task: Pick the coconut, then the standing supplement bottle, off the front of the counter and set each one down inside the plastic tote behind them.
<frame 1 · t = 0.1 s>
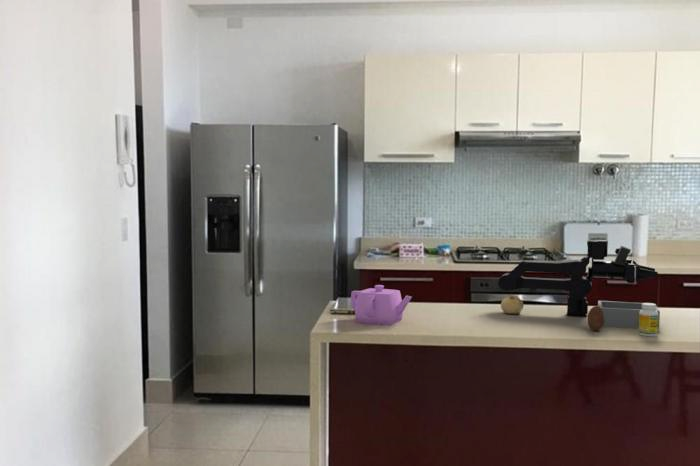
hand: (656, 271, 215), 17 cm above the countertop, tool horizontal, fingers open, 9 cm apart
tote: (627, 323, 210), on the countertop
coconut: (595, 331, 199), on the countertop
teakettle: (381, 321, 216), on the countertop
supplement bottle: (648, 335, 194), on the countertop
onion: (511, 314, 228), on the countertop
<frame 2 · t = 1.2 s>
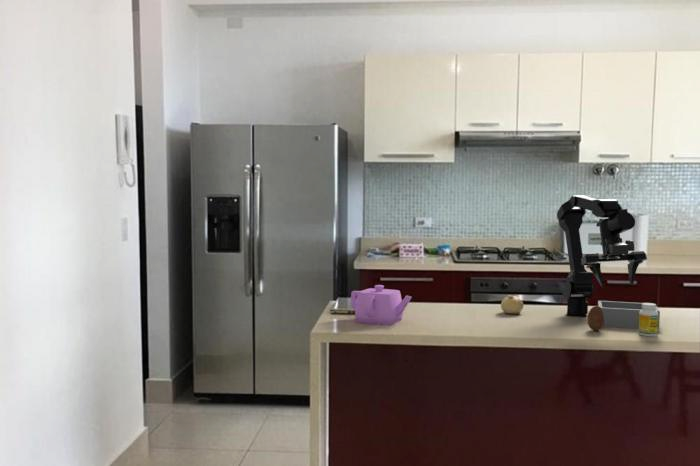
hand: (617, 285, 198), 15 cm above the countertop, tool tilted 15°, fingers open, 9 cm apart
nothing on the countertop moved.
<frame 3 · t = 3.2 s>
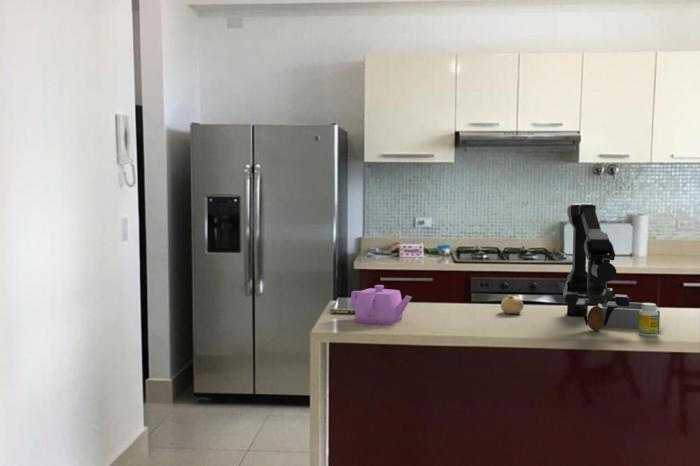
hand: (595, 325, 199), 2 cm above the countertop, tool pointing down, fingers closed on coconut, 5 cm apart
coconut: (595, 331, 199), on the countertop, touching gripper
everything else where it was.
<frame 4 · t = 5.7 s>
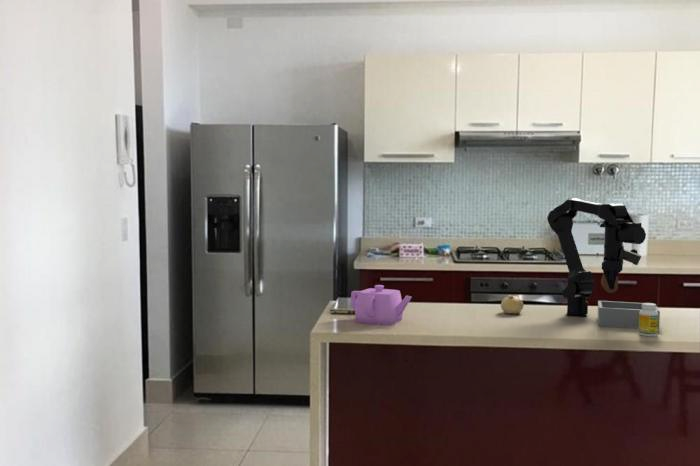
hand: (611, 288, 210), 12 cm above the countertop, tool pointing down, fingers closed on coconut, 5 cm apart
coconut: (609, 293, 210), point 10 cm above the countertop, touching gripper
everything else where it was.
when the fingers open (4 cm above the countertop, at t = 7.7 s): coconut stays where it is, resting on tote.
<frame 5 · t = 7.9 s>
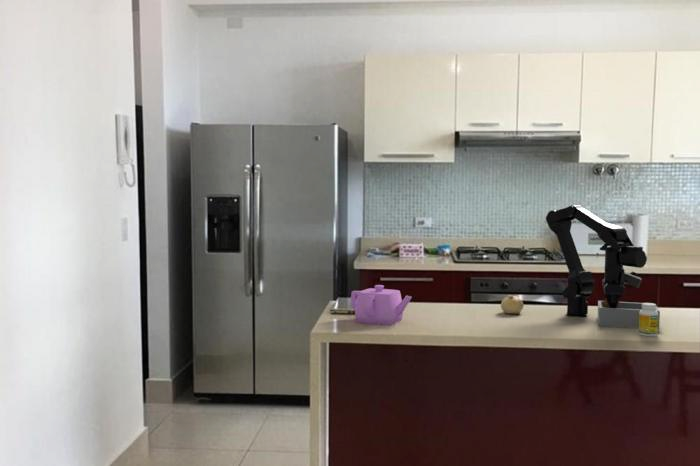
hand: (612, 310, 211), 4 cm above the countertop, tool pointing down, fingers open, 7 cm apart
coconut: (607, 318, 212), point 1 cm above the countertop, touching tote
everything else where it was.
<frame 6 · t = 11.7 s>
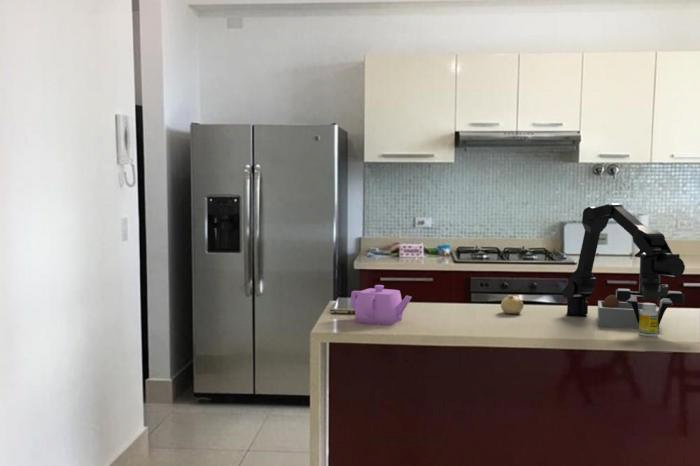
hand: (648, 323, 193), 4 cm above the countertop, tool pointing down, fingers closed on supplement bottle, 5 cm apart
supplement bottle: (648, 335, 194), on the countertop, touching gripper
everything else where it was.
when the fingers open (6 cm above the countertop, at t = 17.0 s): supplement bottle drops 1 cm, resting on tote.
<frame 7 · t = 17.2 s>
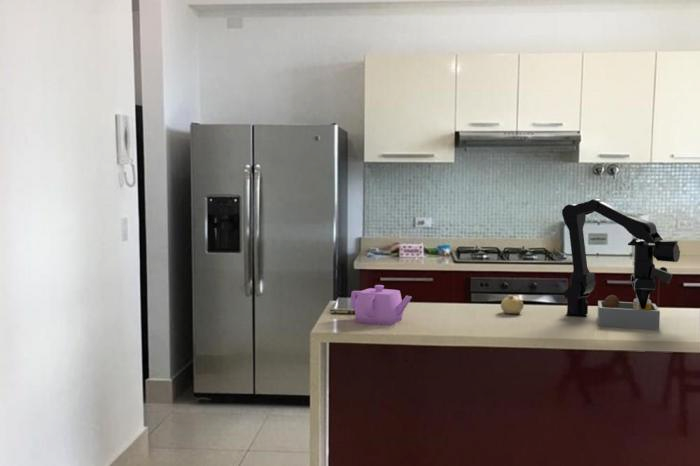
hand: (642, 306, 208), 6 cm above the countertop, tool pointing down, fingers open, 7 cm apart
supplement bottle: (641, 321, 208), point 1 cm above the countertop, touching tote
everything else where it was.
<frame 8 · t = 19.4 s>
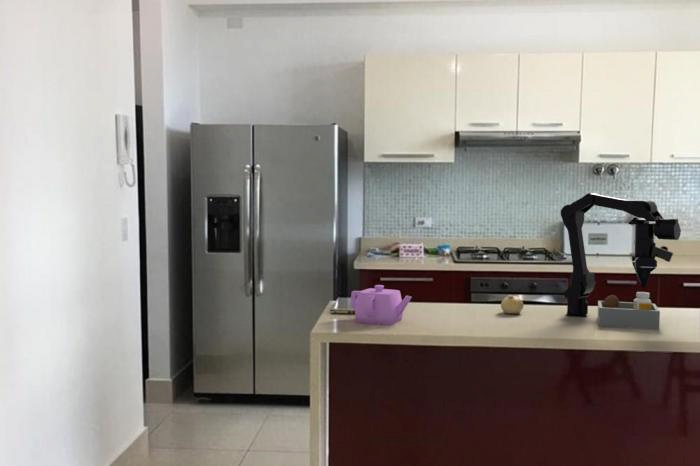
hand: (643, 285, 207), 13 cm above the countertop, tool pointing down, fingers open, 9 cm apart
nothing on the countertop moved.
at the end: coconut inside the target area on the tote (6.0 cm from its centre), point 1.2 cm above the tote's base; supplement bottle inside the target area on the tote (4.5 cm from its centre), point 0.8 cm above the tote's base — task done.
